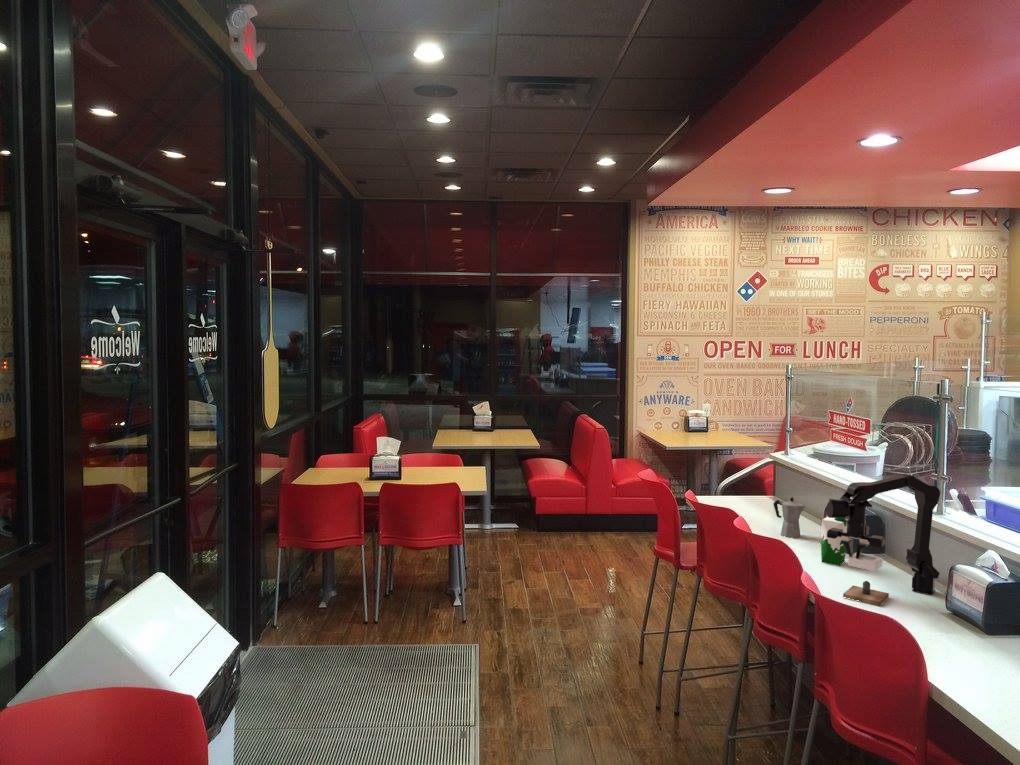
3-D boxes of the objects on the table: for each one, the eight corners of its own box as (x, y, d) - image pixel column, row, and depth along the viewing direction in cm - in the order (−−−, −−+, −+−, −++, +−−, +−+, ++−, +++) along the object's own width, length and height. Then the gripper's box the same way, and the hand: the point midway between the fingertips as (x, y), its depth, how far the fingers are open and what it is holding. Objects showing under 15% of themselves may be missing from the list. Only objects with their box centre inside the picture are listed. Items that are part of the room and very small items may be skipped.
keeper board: (888, 597, 259) (889, 580, 259) (879, 606, 250) (880, 589, 250) (852, 589, 267) (853, 573, 266) (843, 597, 258) (843, 581, 257)
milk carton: (841, 566, 294) (843, 518, 293) (818, 562, 299) (820, 514, 298) (847, 562, 300) (849, 514, 299) (824, 557, 306) (826, 510, 305)
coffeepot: (808, 536, 339) (810, 498, 338) (799, 540, 333) (801, 501, 332) (777, 530, 350) (778, 493, 349) (767, 533, 344) (769, 495, 343)
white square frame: (882, 565, 263) (882, 557, 263) (874, 571, 256) (875, 563, 256) (855, 560, 269) (856, 552, 269) (848, 565, 262) (848, 557, 262)
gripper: (890, 519, 264) (888, 561, 265) (837, 510, 276) (835, 550, 277) (882, 524, 256) (879, 568, 257) (827, 515, 268) (825, 556, 269)
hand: (854, 560), depth 265 cm, fingers closed on white square frame
